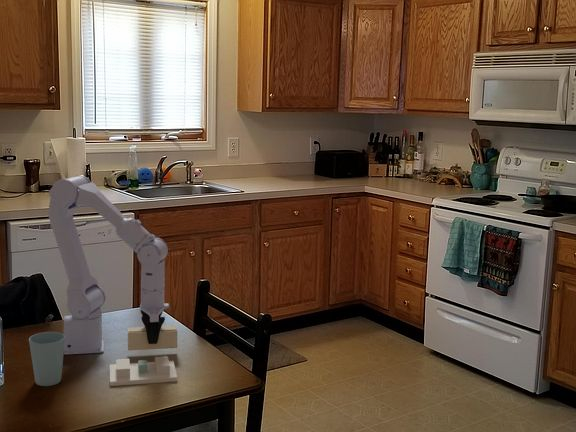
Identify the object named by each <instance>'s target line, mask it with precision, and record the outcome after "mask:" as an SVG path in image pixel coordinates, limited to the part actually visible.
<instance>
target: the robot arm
mask: <svg viewBox="0 0 576 432" xmlns="http://www.w3.org/2000/svg"><path fill="white" fill-rule="evenodd" d="M48 194H49V205H48V212H47V215H48V218H49V221H50V226H51V228H52V232H53V235H54V238H55V241H56V244H57V247H58V251H59V254H60V256H61V260H62V264H63V266H64V269H65V272H66V275H67V279H68V286H67V288H66V292H65V293H66V297H67V302H66V308H67V311H68V313H69V315H64V316H63V334H64V335H65V344H64V354H63V355H82V354H99V353H104V349H105V347H104V345H105V344H104V343H105V340H104V339H103V326H102V324H103V323H102V321H103V319H102V318H103V314H102V306H103V305H104V304H105V302H106V294H105V293H106V292H105V291H104V289H103V288H102V287H101V286H100V284H99V282H98V279H97V278H96V277H94V276H93V275H92V274H91V271H90V268H89V266H88V262H87V259H86V256H85V252H84V249H83V245H82V242H81V239H80V236H79V233H78V229H77V227H76V223H75V220H74V217H73V216H74V214H75V213H76V210H77V209H78V208H79V207H85V208H87V207H88V208H91V209H92V210H94V211H95V212H96V213H97V214H99V216H101V217H102V218H103V219H105V220H106V221H107V222H109V224H111V225H112V226H113V227H114V228H115V229H116V236H117V237H118V238H119V239H121V241H122V242H124V243H125V244H126V245H127V246H128V247H129V248H130V249H132V251H134V253H136V256H137V257H136V258H137V260H138V262H139V263H140V264H141V270H140V305H139V309H140V310H139V311H140V313H141V314H140V315H141V321H142V324H143V327H145V329H146V333H147V339H148V343H149V344H157V342H158V338H159V333H160V329H161V327H162V326H163V325H164V323H165V320H166V318H165V316H162V314H163V312H164V310H165V309H169V308H170V305H169V304H170V303H169V302H168V303H165V287H166V286H165V284H166V283H165V282H166V281H165V280H166V279H165V274H166V272H165V271H166V269H165V267H166V266H165V263H166V262H165V258H166V257H167V256H168V254H169V247H168V245H167V242H165V240H164V239H162V238H160V237H156V235H155V234H153V233H152V234H151V233H150V232H149V231H148V230H147V229H146V228H145V227H144V226H143V225H141V224H142V222H141V220H139V219H135V218H133V217H126V216H125V214H124V215H123V213H122V212H121V211H120V210H119V209H118V208H117V207H116V206H115V205H114V204H113V203H112V202H111V201H110V200H109V199H108V198H107V197H106V196H105V195H104V193H102V192H101V190H100V189H99V188H98V186H97V185H96V184H95V182H91V180H90V178H88V177H86V176H85V175H82V174H78V175H74V176H72V177H67V178H62V179H58V180H57V181H55V182H54V184H53V185H52V187H50V189H49V190H48Z"/></svg>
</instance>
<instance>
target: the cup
mask: <svg viewBox="0 0 576 432" xmlns="http://www.w3.org/2000/svg"><path fill="white" fill-rule="evenodd" d="M28 343H29V348H30V356H31V362H32V370H33V376H34V383H35V384H36V385H37V386H40V387H51V386H54V385H57V384H60V382H62V381H61V380H62V375H63V374H62V373H63V362H64V355H65V354H64V344H65V335H64V333H63V332H58V331H44V332H43V331H42V332H38V333H35V334H33V335H31V336H30V337H29V338H28Z"/></svg>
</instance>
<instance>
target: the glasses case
mask: <svg viewBox="0 0 576 432" xmlns="http://www.w3.org/2000/svg"><path fill="white" fill-rule="evenodd" d="M164 349H165V350H166V349H178V328H177V325H162V327H161V329H160V333H159V338H158V342H157V344H149V343H148V339H147V333H146V329H145V326H138V327H137V326H136V327H135V326H134V327H133V326H131V327H127V351H144V350H164Z"/></svg>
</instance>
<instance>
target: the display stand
mask: <svg viewBox="0 0 576 432" xmlns="http://www.w3.org/2000/svg"><path fill="white" fill-rule="evenodd" d="M173 382H175V383H176V382H178V374H177V371H176V366H175V362H174V360H169V356H168V355H167V356H166V355H165V356H155V357H154V361H148V360H147V359H142V360H137V362H131V363H130V358H122V359H121V358H120V359H119V358H118V359H116V360H115V363H113V364H109V386H110V387H114V386H127V385H129V386H130V385H142V384H143V385H144V384H146V385H147V384H157V383H158V384H159V383H173Z"/></svg>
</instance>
